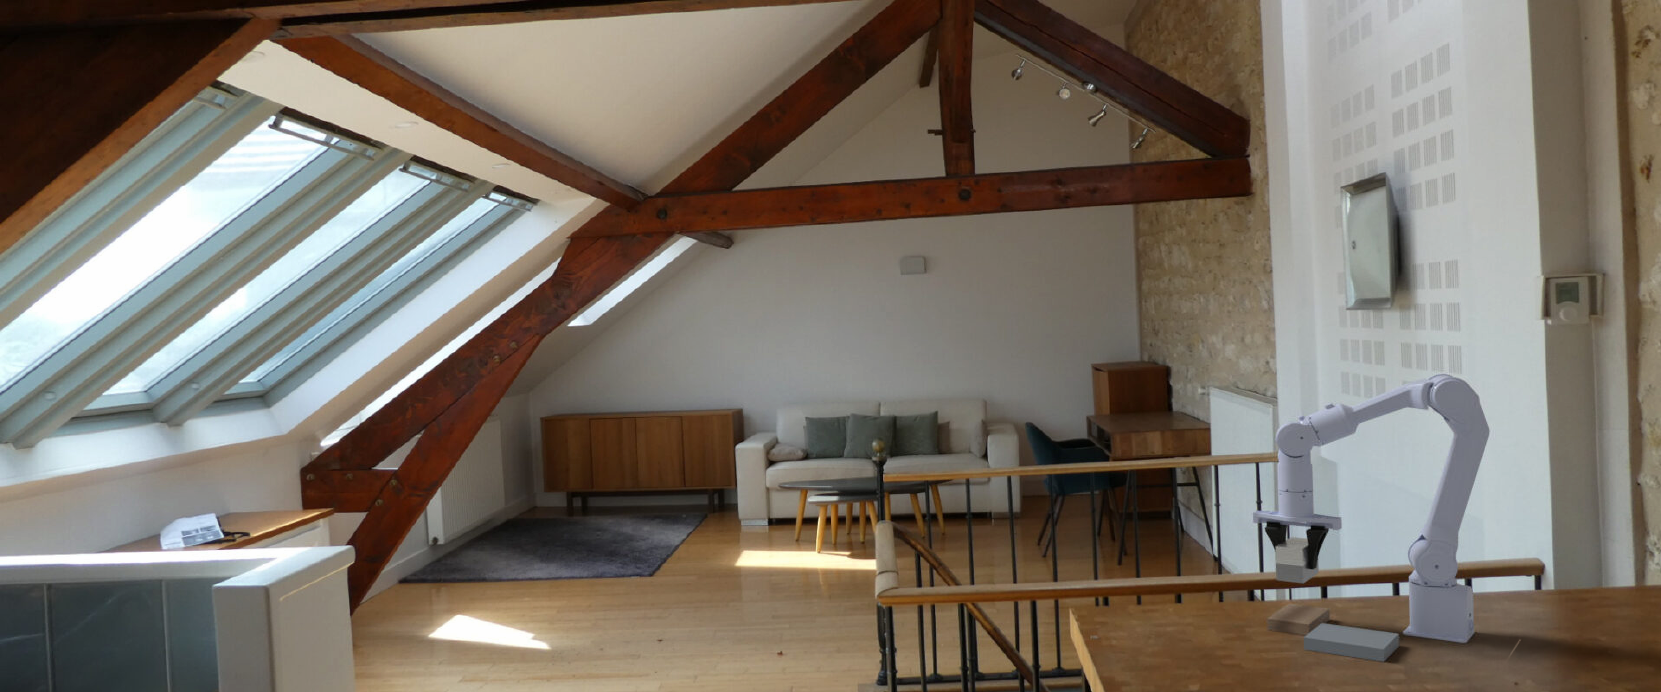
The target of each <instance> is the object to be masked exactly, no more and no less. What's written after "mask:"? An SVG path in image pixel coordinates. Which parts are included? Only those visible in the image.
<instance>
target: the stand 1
mask: <svg viewBox="0 0 1661 692" xmlns="http://www.w3.org/2000/svg"><path fill="white" fill-rule="evenodd" d="M1330 615H1331V613H1330V608H1327V607H1321V606H1320V607H1319V606H1311V605H1305V604H1296V603H1287V604H1286V605H1285V606H1282V608H1280V609H1278V610H1277V611H1276V612H1274V613H1273V614H1272V615H1270V616H1269V617H1267V618H1266V621H1267V622H1266V624H1267V631H1271V632H1280V633H1286V634H1293V635H1300V636H1304V637H1305V636H1306V635H1307V634H1309V633H1310V632H1311V631H1312V630H1314V629H1315V628H1316V627H1317V626H1319V625H1320V624H1321V623H1325V624H1327V623H1328V622H1329V621H1330V618H1331V617H1330Z"/></svg>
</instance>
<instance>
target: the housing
mask: <svg viewBox="0 0 1661 692" xmlns="http://www.w3.org/2000/svg"><path fill="white" fill-rule="evenodd" d="M1275 571H1276V572H1275V573H1276V579H1275V580H1276V581H1280V582H1289V583H1297V584H1305V583H1306V582H1308V581H1309V580H1311V579H1312V578H1314V577H1315V576H1316V575H1318V574H1319V559H1318V560H1317V567H1316V568H1315V569H1309V548H1308V540H1307V537H1306V538H1305V537H1295V536H1291V537H1289V538H1288V539H1287V538H1286V541H1284V542H1282V543H1280V544H1279V545H1277V546H1276V552H1275Z"/></svg>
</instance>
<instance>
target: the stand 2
mask: <svg viewBox="0 0 1661 692" xmlns="http://www.w3.org/2000/svg"><path fill="white" fill-rule="evenodd" d="M1399 647H1400V634H1399V633H1395V632H1388V631H1382V630H1373V629H1366V628H1362V627H1361V628H1359V627H1354V626H1353V627H1352V626H1346V625H1338V624H1333V623H1332V624H1331V623H1321V624H1320V625H1319V626H1317V627H1316V628H1315V629H1314V630H1312V631H1311V632H1310V633H1309V634H1307V635H1306V636H1305V635H1304V637H1303V649H1304V650H1305V651H1312V652H1318V653H1326V654H1332V655H1338V656H1344V657H1351V658H1357V659H1364V660H1370V661H1375V662H1376V661H1377V662H1386V660H1387V659H1388V658H1389V657H1390V656H1391V655H1392V654H1393V653H1394V652H1395V651H1396V650H1397V649H1398V648H1399Z"/></svg>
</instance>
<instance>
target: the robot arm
mask: <svg viewBox="0 0 1661 692" xmlns="http://www.w3.org/2000/svg"><path fill="white" fill-rule="evenodd" d="M1324 407H1325V408H1323V409H1321V410H1318V411H1316V412H1313V413H1311V414H1309V415H1306V416H1305V415H1304V414H1301V415H1298V416H1297V419H1298V421H1294V420H1291V421H1287V422H1285V423H1283V424H1281V425H1280V427H1279V428H1277V430H1276V434H1275V436H1274V438H1275V439H1274V440H1275V443H1276V445H1277V446H1278V448H1279V449H1278V453H1277V461H1278V463H1277V495H1278V496H1277V497H1278V499H1277V500H1278V511H1276V510H1275V511H1271V510H1270V511H1269V510H1254V511H1253V512H1252V523H1253V524H1266V526H1265V527H1264V531H1265V533H1266V535H1267V536H1268V538H1269V540H1270V542H1271V545H1272V547H1273V549H1274V552H1275V553H1276V546H1277V545H1279V544H1280V543H1282V542H1284V541H1286V540H1287V531H1288V526H1296V527H1304V528H1305V527H1306V528H1308V529H1306V530H1305V532H1306V538H1307V540H1308V548H1309V569H1315V568H1316V567H1317V560H1318V561H1319V556H1320V555H1319V554H1320V551H1321V549H1322V547H1323V544H1324V542H1325V539H1326V537H1327V536H1328V533H1329V531H1330V530H1333V531H1340V530H1341V529H1342V528H1343V527H1342V525H1343V524H1342V517H1341V516H1339V517H1338V516H1331V515H1324V514H1317V513H1314V512H1315V511H1314V510H1315V509H1314V478H1313V477H1314V476H1313V473H1314V472H1313V464H1312V463H1311V460H1312V459H1311V451H1312V449H1313V447H1318V448H1320V447H1322V446H1325V445H1328V444H1330V443H1333V442H1335V441H1338V440H1341V439H1344V438H1346V437H1348V436H1349V437H1350V436H1352V435H1354V434H1355V433H1356V431H1357V428H1358V427H1359V425H1360V424H1362V423H1365V422H1368V421H1371V420H1374V419H1376V418H1379V417H1382V416H1386V415H1388V414H1391V413H1394V412H1397V411H1401V410H1403V409H1406V408H1411V409H1419V410H1425V411H1426V410H1429V408H1431V409H1432V410H1433V411H1434V412H1435V413H1437V414H1439V415H1440V416H1441V417H1442V418H1443V420H1444V421H1445V423H1446V424H1447V426H1448V427H1449V429H1450V430H1451V431H1452V432H1453V437H1452V440H1451V443H1450V446H1449V449H1448V453H1447V456H1446V458H1445V462H1444V465H1443V469H1442V472H1441V476H1440V478H1439V482H1438V485H1437V487H1436V491H1435V494H1434V498H1433V500H1432V504H1431V507H1430V511H1429V513H1428V517H1427V519H1426V521H1425V523H1424V524H1423V526H1422V527H1421V528H1420V532H1419V535H1418V537H1417V538H1416V539H1415V540H1414V541H1413V542H1412V543H1411V544H1410V546H1409V547H1408V550H1407V559H1408V562H1409V563H1410V565H1411V566H1412V567H1413V568H1414V570H1413V571H1412V573H1411V574H1410V575H1409V576H1408V597H1409V601H1408V602H1409V625H1408V626H1407V628H1406V629H1405V630H1403V631H1402V635H1405V636H1410V637H1411V636H1412V637H1416V638H1417V637H1418V638H1423V639H1424V638H1425V639H1432V640H1438V641H1439V640H1440V641H1447V642H1454V643H1460V644H1466V643H1468V642H1469V641H1470V639H1471V637H1472V636H1473V635H1474V634H1475V633H1476V632H1475V623H1474V618H1475V617H1474V615H1475V613H1474V594H1473V589H1472V586H1470V585H1466V584H1460V583H1458V579H1457V578H1456V575H1457V573H1458V569H1459V568H1458V567H1459V564H1458V561H1457V553H1458V549H1459V532H1460V528H1461V525H1462V522H1463V518H1464V515H1465V512H1466V509H1467V506H1468V503H1469V500H1470V497H1471V494H1472V490H1473V487H1474V484H1475V481H1476V478H1477V475H1478V472H1479V469H1480V465H1481V462H1482V459H1483V457H1484V452H1485V450H1486V447H1487V443H1488V440H1489V437H1490V432H1491V430H1490V427H1489V425H1488V421H1487V419H1486V416H1485V412H1484V410H1483V407H1482V405H1481V401H1480V396H1479V395H1478V393H1476V391H1475V390H1474V389H1473V388H1472V387H1471V385H1470V383H1468V382H1467V381H1465V380H1464V379H1462V378H1459V377H1455V376H1453V375H1450V374H1447V373H1440V374H1439V373H1438V374H1435V375H1432V376H1431V377H1429V378H1421V379H1417V380H1414V381H1411V382H1408V383H1405V384H1401V385H1399V386H1397V387H1395V388H1393V389H1389V390H1387V391H1386V392H1382V393H1381V394H1378V395H1376V396H1374V397H1371V398H1368V399H1365V400H1364V401H1362V402H1359V403H1357V404H1354V405H1352V406H1348V405H1346V404H1343V403H1336V404H1333V402H1330V403H1326V404H1324Z"/></svg>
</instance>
